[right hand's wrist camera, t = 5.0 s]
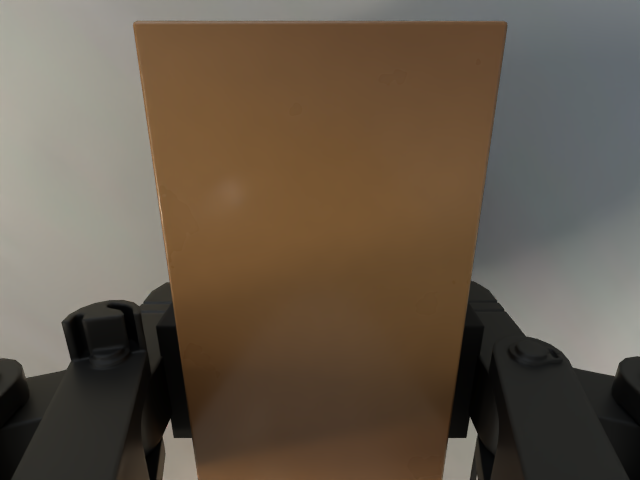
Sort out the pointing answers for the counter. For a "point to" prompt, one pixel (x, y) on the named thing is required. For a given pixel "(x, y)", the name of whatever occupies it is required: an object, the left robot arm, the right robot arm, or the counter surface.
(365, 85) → the bar
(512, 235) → the counter surface
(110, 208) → the counter surface
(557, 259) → the counter surface
